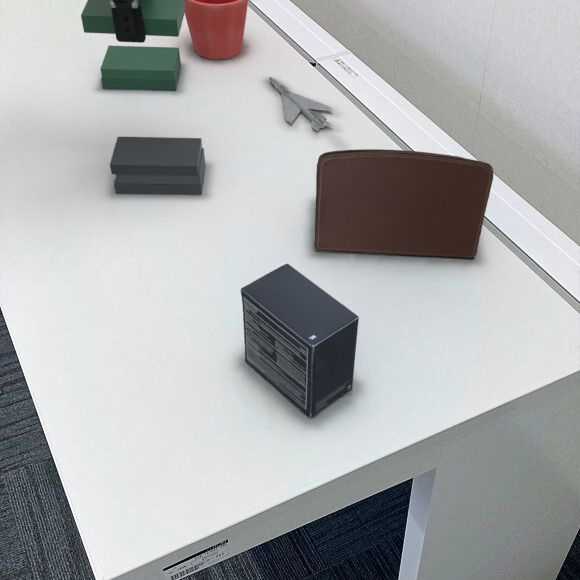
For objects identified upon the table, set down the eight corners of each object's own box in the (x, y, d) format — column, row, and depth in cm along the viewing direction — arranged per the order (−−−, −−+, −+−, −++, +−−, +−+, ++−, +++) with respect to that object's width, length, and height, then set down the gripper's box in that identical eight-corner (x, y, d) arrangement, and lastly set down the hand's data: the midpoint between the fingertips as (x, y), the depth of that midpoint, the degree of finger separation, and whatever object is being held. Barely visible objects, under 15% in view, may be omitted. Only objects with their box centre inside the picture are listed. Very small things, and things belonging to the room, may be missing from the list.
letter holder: (475, 260, 94) (498, 161, 84) (313, 252, 93) (316, 152, 83) (467, 210, 101) (487, 113, 91) (316, 202, 100) (319, 104, 90)
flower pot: (251, 34, 131) (248, -25, 124) (250, 65, 124) (247, 5, 117) (188, 33, 130) (182, -27, 123) (183, 64, 123) (176, 3, 116)
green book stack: (102, 89, 117) (98, 69, 114) (110, 64, 122) (107, 45, 119) (176, 90, 117) (173, 71, 115) (181, 66, 123) (179, 47, 120)
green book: (84, 32, 86) (80, 15, 85) (95, 5, 91) (92, -12, 90) (178, 37, 87) (176, 19, 86) (185, 9, 92) (183, -8, 90)
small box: (357, 387, 79) (364, 315, 72) (310, 421, 76) (312, 349, 68) (289, 332, 84) (288, 259, 77) (242, 361, 81) (237, 288, 73)
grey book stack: (115, 194, 99) (109, 164, 96) (123, 165, 104) (117, 136, 100) (201, 195, 100) (198, 166, 97) (205, 166, 104) (202, 137, 101)
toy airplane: (290, 75, 123) (290, 61, 121) (363, 139, 111) (364, 125, 109) (247, 86, 119) (247, 72, 118) (317, 153, 108) (318, 139, 106)
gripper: (89, -177, 82) (116, -8, 95) (52, -125, 70) (89, 60, 83) (161, -173, 83) (178, -5, 96) (136, -121, 71) (159, 63, 84)
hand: (136, 24), depth 89 cm, fingers closed on green book, 7 cm apart
